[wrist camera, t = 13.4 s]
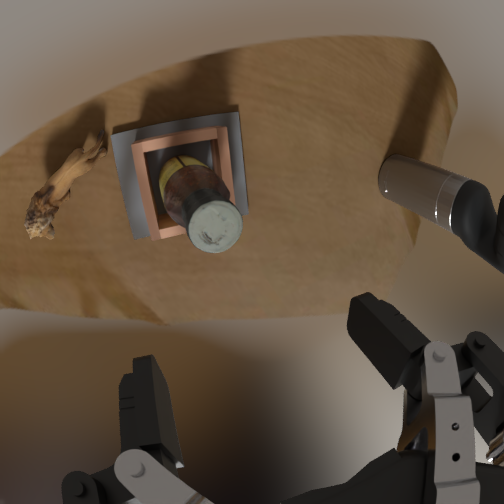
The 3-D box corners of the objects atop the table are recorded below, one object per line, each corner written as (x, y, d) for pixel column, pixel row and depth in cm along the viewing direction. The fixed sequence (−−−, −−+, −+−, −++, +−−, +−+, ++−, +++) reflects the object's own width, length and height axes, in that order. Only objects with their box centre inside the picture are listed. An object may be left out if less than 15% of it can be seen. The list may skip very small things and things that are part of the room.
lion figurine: (63, 225, 34) (44, 253, 27) (36, 206, 32) (11, 230, 24) (117, 139, 32) (106, 146, 25) (88, 118, 30) (69, 119, 22)
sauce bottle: (165, 204, 37) (177, 282, 21) (153, 160, 34) (151, 203, 17) (210, 190, 39) (260, 255, 22) (201, 147, 36) (246, 176, 19)
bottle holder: (236, 111, 36) (251, 111, 30) (246, 212, 43) (261, 228, 37) (111, 134, 32) (102, 138, 26) (134, 236, 39) (131, 257, 33)
